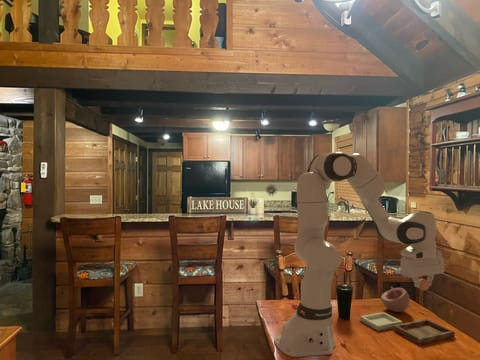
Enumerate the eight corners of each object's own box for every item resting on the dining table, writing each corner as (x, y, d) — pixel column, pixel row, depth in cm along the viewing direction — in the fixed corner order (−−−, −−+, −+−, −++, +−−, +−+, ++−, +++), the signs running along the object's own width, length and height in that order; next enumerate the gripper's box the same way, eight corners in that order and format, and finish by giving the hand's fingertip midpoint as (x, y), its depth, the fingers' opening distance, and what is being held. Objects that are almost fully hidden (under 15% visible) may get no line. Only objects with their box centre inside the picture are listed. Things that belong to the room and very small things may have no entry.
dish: (419, 345, 117) (419, 339, 117) (394, 330, 128) (394, 325, 128) (454, 337, 123) (454, 331, 123) (426, 324, 134) (427, 319, 134)
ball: (423, 292, 123) (424, 281, 123) (414, 288, 127) (414, 277, 127) (432, 291, 124) (432, 280, 125) (422, 287, 129) (422, 276, 129)
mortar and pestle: (377, 305, 154) (377, 282, 154) (402, 306, 153) (402, 282, 154) (387, 316, 142) (387, 290, 142) (414, 316, 141) (414, 291, 142)
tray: (377, 331, 128) (377, 326, 128) (360, 320, 137) (360, 316, 137) (402, 326, 132) (402, 321, 132) (383, 316, 142) (383, 312, 142)
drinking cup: (354, 322, 136) (354, 275, 136) (336, 320, 138) (336, 274, 138) (352, 314, 143) (352, 270, 144) (334, 313, 145) (334, 269, 145)
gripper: (434, 248, 132) (434, 281, 132) (397, 251, 125) (397, 286, 125) (449, 251, 127) (449, 285, 127) (411, 255, 119) (410, 291, 119)
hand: (422, 286), depth 126 cm, fingers closed on ball, 4 cm apart
